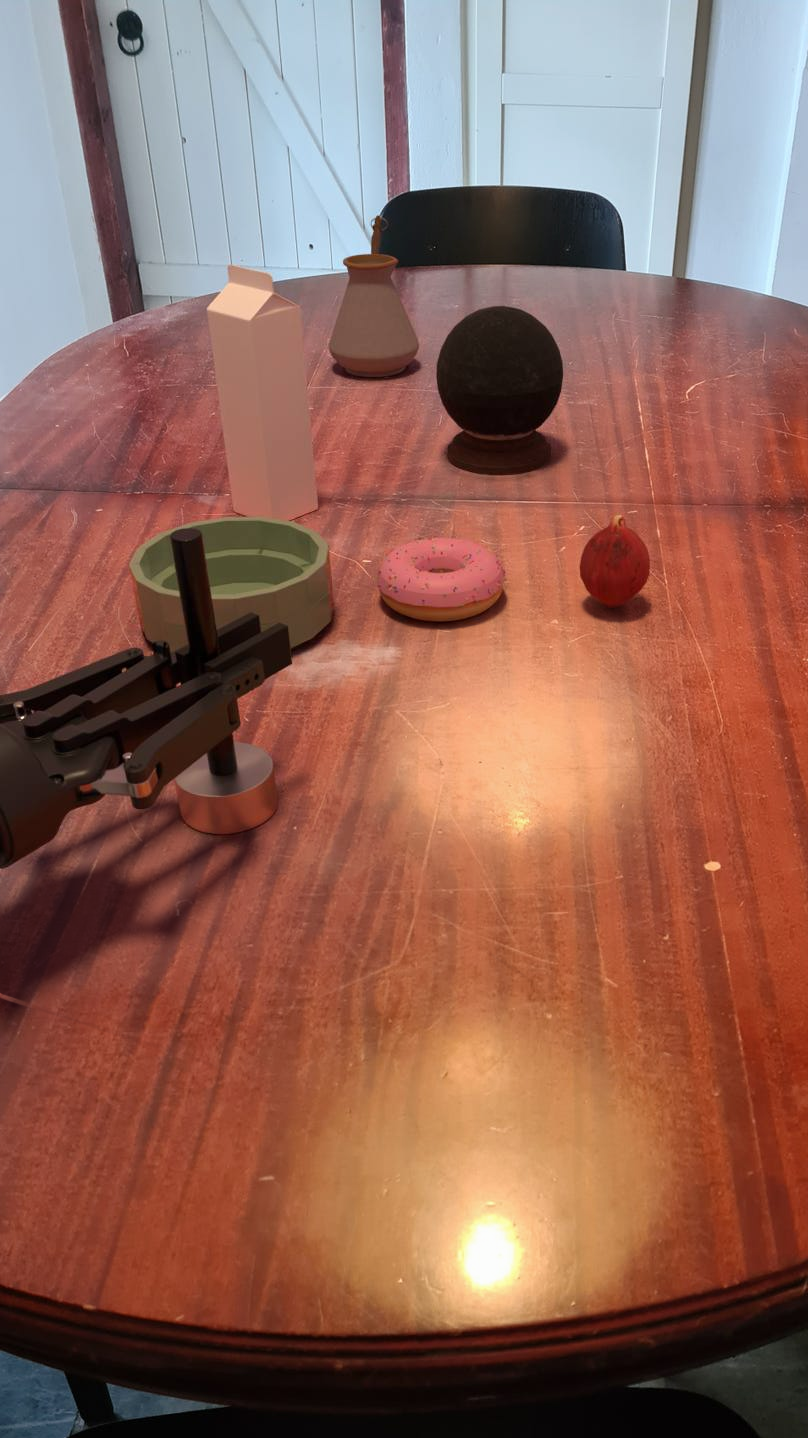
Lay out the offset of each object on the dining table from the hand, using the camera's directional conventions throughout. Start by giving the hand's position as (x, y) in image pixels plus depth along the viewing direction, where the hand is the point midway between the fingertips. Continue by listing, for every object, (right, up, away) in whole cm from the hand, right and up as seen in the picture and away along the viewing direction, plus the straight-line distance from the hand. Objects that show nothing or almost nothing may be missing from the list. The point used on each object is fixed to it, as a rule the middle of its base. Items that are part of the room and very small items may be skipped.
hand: (270, 638), depth 79 cm
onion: (+25, +7, +25) cm, 36 cm away
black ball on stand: (+16, +29, +54) cm, 63 cm away
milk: (-7, +20, +42) cm, 47 cm away
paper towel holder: (-3, -11, +3) cm, 11 cm away
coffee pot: (0, +51, +83) cm, 97 cm away
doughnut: (+10, +8, +26) cm, 29 cm away
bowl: (-7, +5, +23) cm, 25 cm away
